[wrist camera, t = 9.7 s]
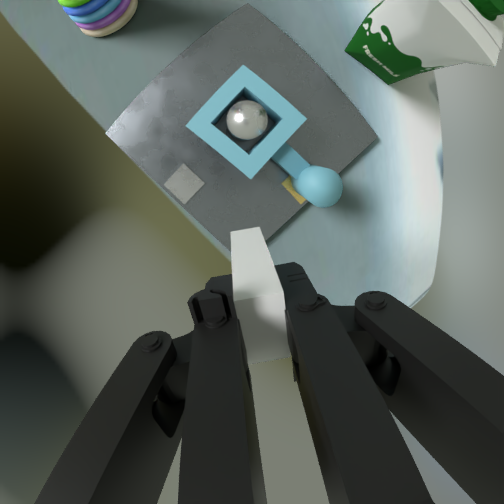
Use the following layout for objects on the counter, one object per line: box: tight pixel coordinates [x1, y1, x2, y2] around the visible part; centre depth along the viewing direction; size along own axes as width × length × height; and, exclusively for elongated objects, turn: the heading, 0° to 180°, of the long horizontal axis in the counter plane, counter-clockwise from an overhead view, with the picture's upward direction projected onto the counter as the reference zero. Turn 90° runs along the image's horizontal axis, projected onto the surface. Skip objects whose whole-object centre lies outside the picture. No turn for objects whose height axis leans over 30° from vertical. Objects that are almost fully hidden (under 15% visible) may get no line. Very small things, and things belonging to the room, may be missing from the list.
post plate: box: [106, 3, 377, 251], centre depth 25 cm, size 22×22×6 cm
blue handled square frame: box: [186, 65, 343, 208], centre depth 25 cm, size 8×15×6 cm, turn 49°
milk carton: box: [345, 0, 504, 85], centre depth 16 cm, size 9×9×20 cm
